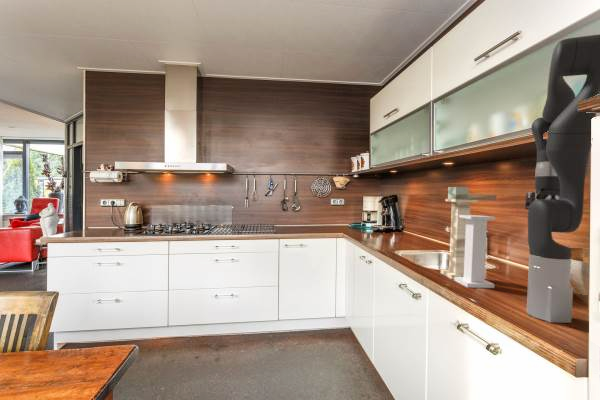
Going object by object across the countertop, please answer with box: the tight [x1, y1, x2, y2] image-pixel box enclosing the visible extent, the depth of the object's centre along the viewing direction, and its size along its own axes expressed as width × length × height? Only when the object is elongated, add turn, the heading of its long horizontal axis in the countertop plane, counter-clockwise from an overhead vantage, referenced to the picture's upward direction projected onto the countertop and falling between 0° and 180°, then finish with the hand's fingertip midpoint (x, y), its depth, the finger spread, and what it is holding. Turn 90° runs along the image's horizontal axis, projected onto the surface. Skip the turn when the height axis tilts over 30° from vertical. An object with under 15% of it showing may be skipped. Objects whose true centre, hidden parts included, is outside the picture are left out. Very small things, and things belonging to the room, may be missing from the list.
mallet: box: [447, 186, 497, 201], centre depth 128 cm, size 6×18×5 cm, turn 92°
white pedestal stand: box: [453, 214, 496, 289], centre depth 118 cm, size 9×10×26 cm
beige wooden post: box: [440, 198, 479, 280], centre depth 129 cm, size 9×10×32 cm
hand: (547, 223), depth 106 cm, fingers open, 8 cm apart
